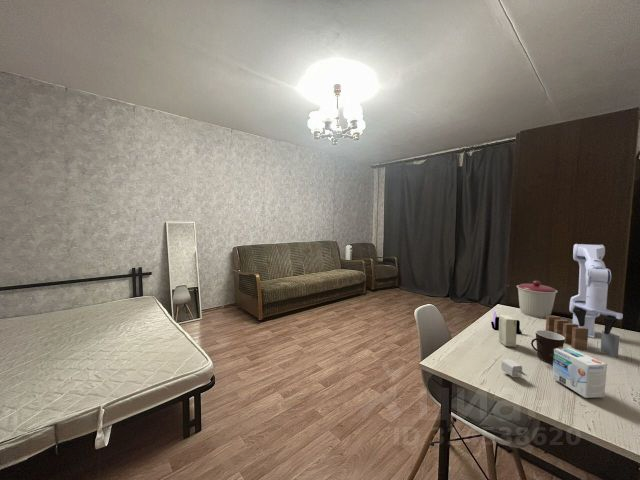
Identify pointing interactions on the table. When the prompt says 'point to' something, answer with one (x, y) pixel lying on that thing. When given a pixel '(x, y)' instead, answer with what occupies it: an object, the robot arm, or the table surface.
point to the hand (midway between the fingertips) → (593, 329)
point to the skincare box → (507, 330)
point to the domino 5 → (610, 344)
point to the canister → (536, 299)
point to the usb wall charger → (512, 368)
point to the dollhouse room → (496, 324)
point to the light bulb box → (579, 372)
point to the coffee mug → (547, 344)
